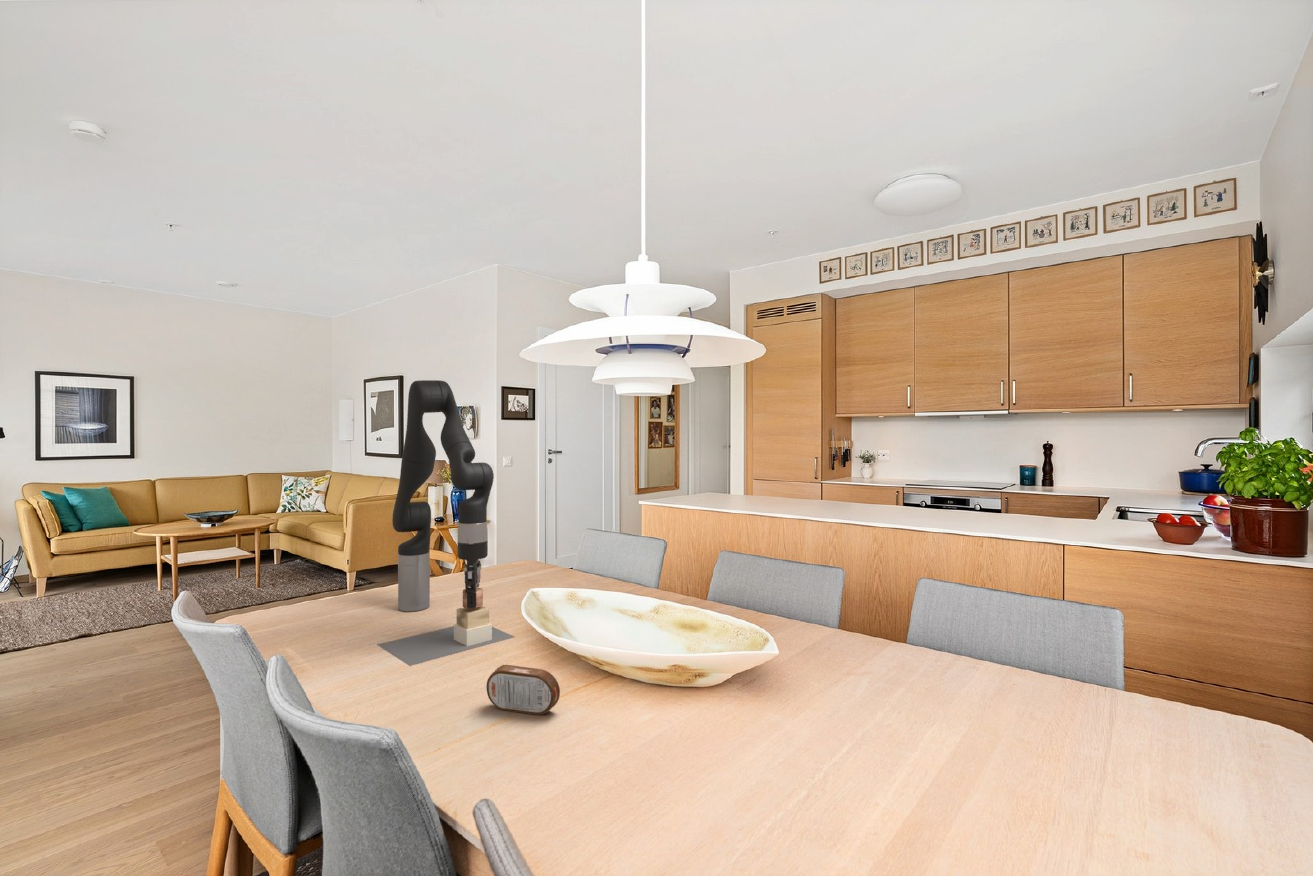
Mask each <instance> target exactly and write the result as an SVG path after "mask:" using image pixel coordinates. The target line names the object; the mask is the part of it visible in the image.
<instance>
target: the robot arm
mask: <svg viewBox="0 0 1313 876" xmlns="http://www.w3.org/2000/svg"><path fill="white" fill-rule="evenodd" d="M427 413H428V414H430V413H431V414H433V413H442V414H443V416H444V417H445V418H444V419H445V420H444V423H443V425H442V429H441V431H440V443H441V446H442V448H443V450H444V452H445V455H446V457H447V459H448V463H449V468H450V480H451V484H452V486H454V488H456V489H457V490H458V491H474V492H473V494H472V495H471V496H470V497H469V498H466V499H463V500H461V501H459V503H458V524H457V525H458V526H457V558H458V559H459V560H465V561H466V563H465V565H464V568H463V573H464V584H465V585H464V587H465V588H464V589H465V592H466V594H467V608H475V607H476V592H477V588H480V582H481V574H482V573H481V570H482V563H481V561H480V560H482V559H485V558H487V557H488V554H489V553H488V550H489V549H488V547H489V546H488V544H489V543H488V541H489V540H488V537H489V535H488V533H489V532H488V521H487V519H488V518H487V516H488V515H487V514H488V513H487V512H488V511H487V507H488V503H489V499H490V495H491V490H492V487H493V483H494V476H495V475H494V470H493V467H491V465H490V464H489V463H487V462H473V460H475V457H476V451H475V448H474V446H473V444H472V442H471V440H470V439H469V437H468V435H467V432H466V431H465V427H464V425H463V422H462V419H461V415H460V412H459V408H458V405H457V402H456V399H455V395H454V393H453V390H452V388H451V386H450V385H449V383H448V382H447V381H445V380H435V379H434V380H432V379H431V380H428V379H426V380H424V379H423V380H414V381H413V382H412V383H411V384H410V386H409V390H408V400H407V418H406V431H405V436H404V437H405V439H404V445H403V449H402V455H401V465H400V473H399V483H398V488H397V494H396V497H395V500H394V506H393V511H392V518H391V519H392V526H393V527H392V528H393V529H394V531H395V532H397V533H411V532H416V534H415V535H414V536H413V537H411V538H410V539H408V540H406V541H403V542H402V543H400V544H398V546H397V547H398V548H397V581H398V582H397V595H398V596H397V601H398V603H397V609H398V611H401V612H417V611H423V610H426V609H428V608H429V607H430V606H431V604H430V603H431V600H430V598H431V597H430V596H431V595H430V594H431V590H430V588H431V583H430V582H431V581H430V580H431V576H430V575H431V570H430V569H431V568H430V567H431V566H430V564H431V563H430V562H431V561H430V557H431V556H430V553H431V552H430V546H431V525H432V524H431V523H432V510H431V505H430V504H429V502H427V501H424V500H423V501H411V500H412V498H413V497H414V495H415V493H416V492H417V491H418V490H419V489H420V488H421V487H422V486H423V485H424V484H425V483H426V481H428V479H429V478H430V477H431V475H432V474H433V471H434V469H435V463H436V457H437V451H436V446H435V445H434V443H433V441H432V439H431V438H430V436H429V435H428V432H427V431H426V428H425V427H424V424H423V423H424V422H423V421H424V420H423V419H424V414H427Z"/></svg>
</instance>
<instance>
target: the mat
mask: <svg viewBox="0 0 1313 876" xmlns="http://www.w3.org/2000/svg"><path fill="white" fill-rule="evenodd" d="M513 638H516V636H515V635H513V634H510V633H508V632H506V631H503V630H501V629H498V628H496V627H494V626H492V640H489V641H485V642H481V643H478V644H474V645H470V646H465V645H463V644H461V643H459V642H457V641H455V640H454V625H453V626H448V627H444V628H441V629H440V628H439V629H436V630H433V631H428V632H424V633H423V632H422V633H419V634H416V635H411V636H407V637H403V638H399V639H394V640H390V641H386V642H381V643H377V644H376V645H377V646H378V647H380V648H381V649H383V650H384V651H386V652H387V653H389V654H390V655H392V656H393V657H395V658H397V659H399V660H400V661H402V662H403V663H404V664H406V665H408V666H409V667H411V666H414V665H419V664H422V663H425V662H430V661H434V660H438V659H441V658H445V657H448V656H452V655H455V654H459V653H462V652H466V651H470V650H473V649H476V648H482V647H484V646H487V645H491V644H496V643H499V642H503V641H506V640H510V639H513Z"/></svg>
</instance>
